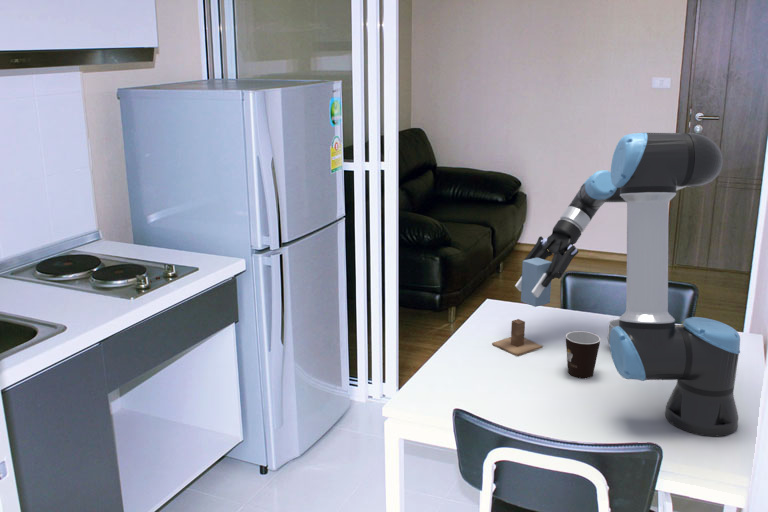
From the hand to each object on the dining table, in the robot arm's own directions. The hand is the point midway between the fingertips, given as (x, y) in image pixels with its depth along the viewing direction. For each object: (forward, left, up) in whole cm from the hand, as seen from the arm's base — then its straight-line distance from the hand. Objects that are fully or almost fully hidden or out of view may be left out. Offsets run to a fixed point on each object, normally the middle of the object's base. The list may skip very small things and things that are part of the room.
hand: (526, 291), depth 200 cm
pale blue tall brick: (+3, -2, -4) cm, 5 cm away
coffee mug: (-9, -19, -16) cm, 26 cm away
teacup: (+10, -28, -16) cm, 34 cm away
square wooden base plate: (-2, +1, -16) cm, 16 cm away
